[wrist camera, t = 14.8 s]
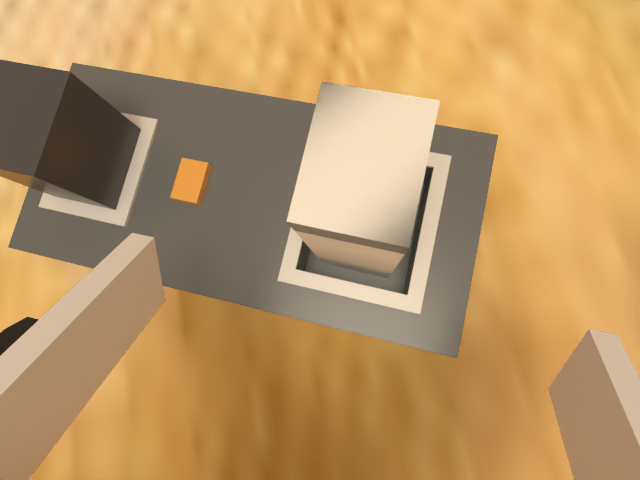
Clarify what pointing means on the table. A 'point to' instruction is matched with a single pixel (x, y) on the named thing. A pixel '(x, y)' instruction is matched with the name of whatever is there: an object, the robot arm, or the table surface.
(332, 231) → the plug
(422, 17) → the table surface
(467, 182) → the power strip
